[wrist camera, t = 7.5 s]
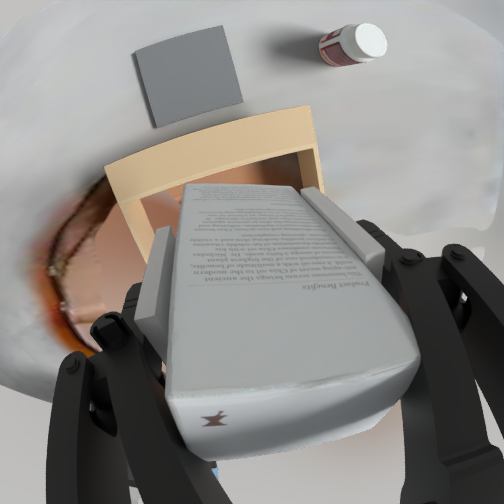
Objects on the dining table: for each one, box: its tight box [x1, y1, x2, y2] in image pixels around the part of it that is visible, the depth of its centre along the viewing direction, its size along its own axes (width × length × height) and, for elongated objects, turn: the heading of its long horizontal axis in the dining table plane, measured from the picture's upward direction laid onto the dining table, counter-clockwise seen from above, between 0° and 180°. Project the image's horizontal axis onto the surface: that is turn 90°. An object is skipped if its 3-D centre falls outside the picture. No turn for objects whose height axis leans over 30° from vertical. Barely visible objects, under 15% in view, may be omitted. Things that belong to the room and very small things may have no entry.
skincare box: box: [165, 183, 421, 461], centre depth 10 cm, size 6×4×12 cm
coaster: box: [135, 25, 243, 128], centre depth 25 cm, size 10×10×1 cm
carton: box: [104, 105, 325, 265], centre depth 32 cm, size 21×21×6 cm
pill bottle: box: [319, 23, 387, 67], centre depth 22 cm, size 5×5×8 cm
